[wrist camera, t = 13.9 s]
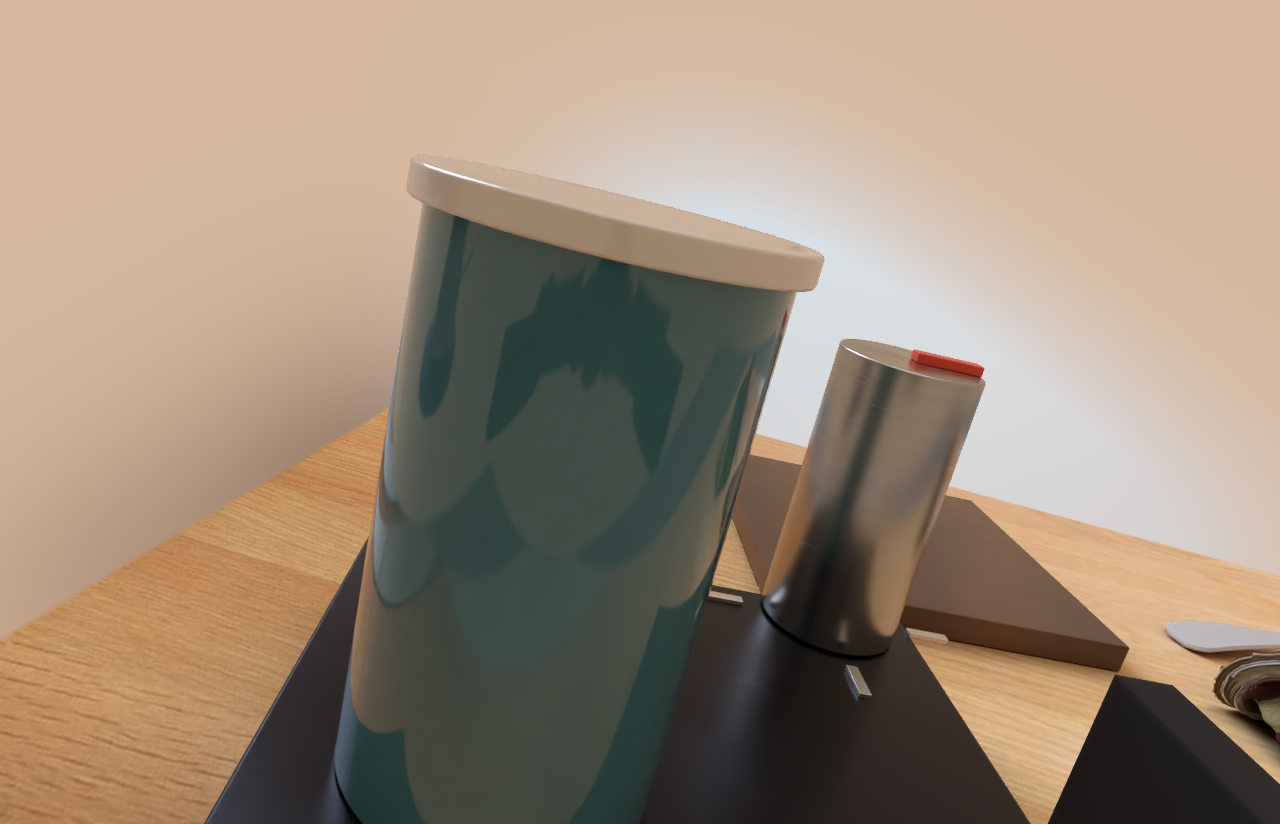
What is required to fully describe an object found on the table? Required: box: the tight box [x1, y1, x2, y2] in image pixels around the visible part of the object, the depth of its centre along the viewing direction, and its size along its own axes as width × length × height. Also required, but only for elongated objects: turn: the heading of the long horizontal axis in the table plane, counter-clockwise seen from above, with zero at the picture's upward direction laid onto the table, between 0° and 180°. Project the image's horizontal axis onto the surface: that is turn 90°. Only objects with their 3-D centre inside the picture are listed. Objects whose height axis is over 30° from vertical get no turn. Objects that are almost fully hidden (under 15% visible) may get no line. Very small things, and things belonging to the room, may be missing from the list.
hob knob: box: [762, 339, 985, 656], centre depth 27 cm, size 4×4×9 cm
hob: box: [204, 537, 1031, 824], centre depth 24 cm, size 19×17×3 cm
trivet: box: [732, 455, 1129, 671], centre depth 43 cm, size 16×16×1 cm
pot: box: [334, 155, 824, 824], centre depth 17 cm, size 7×7×12 cm
